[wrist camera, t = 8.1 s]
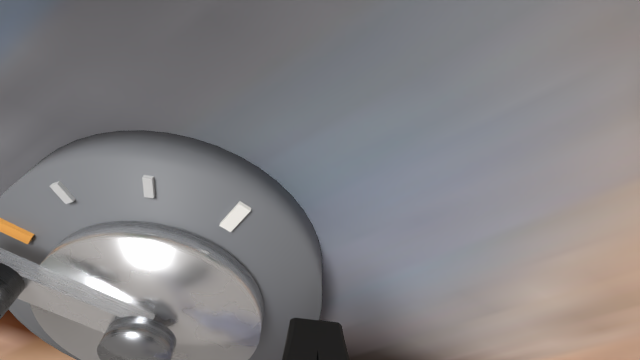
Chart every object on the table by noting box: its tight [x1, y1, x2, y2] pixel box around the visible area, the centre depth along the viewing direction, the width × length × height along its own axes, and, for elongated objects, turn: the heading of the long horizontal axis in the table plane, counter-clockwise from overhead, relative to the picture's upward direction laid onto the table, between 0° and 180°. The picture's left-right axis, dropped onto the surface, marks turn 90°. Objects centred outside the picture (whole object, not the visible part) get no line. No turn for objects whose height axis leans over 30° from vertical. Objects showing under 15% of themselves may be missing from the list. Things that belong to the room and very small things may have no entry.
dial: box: [0, 221, 264, 360], centre depth 18 cm, size 14×11×6 cm
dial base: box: [0, 131, 322, 360], centre depth 22 cm, size 17×17×3 cm
